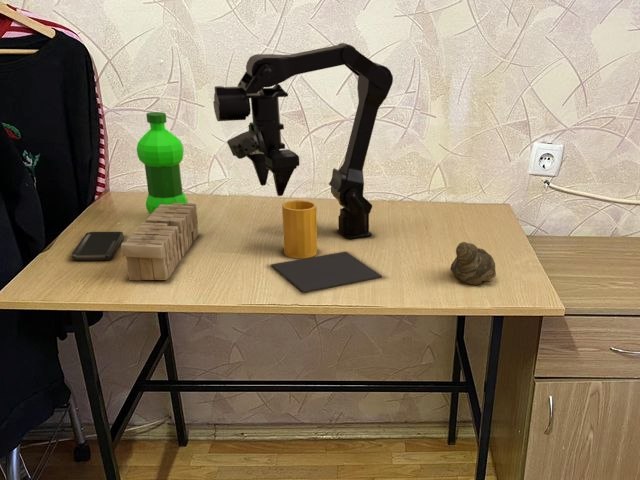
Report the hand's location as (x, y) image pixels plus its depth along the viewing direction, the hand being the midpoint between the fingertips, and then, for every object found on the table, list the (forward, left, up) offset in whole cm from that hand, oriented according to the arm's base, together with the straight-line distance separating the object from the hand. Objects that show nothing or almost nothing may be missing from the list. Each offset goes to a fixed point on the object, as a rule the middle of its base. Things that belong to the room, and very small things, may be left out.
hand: (271, 190), depth 161 cm
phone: (+35, -12, -12) cm, 39 cm away
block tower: (+24, -1, -12) cm, 27 cm away
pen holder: (-3, +9, -12) cm, 15 cm away
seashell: (-31, +39, -12) cm, 51 cm away
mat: (-3, +21, -12) cm, 25 cm away
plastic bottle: (+16, -26, -12) cm, 33 cm away
